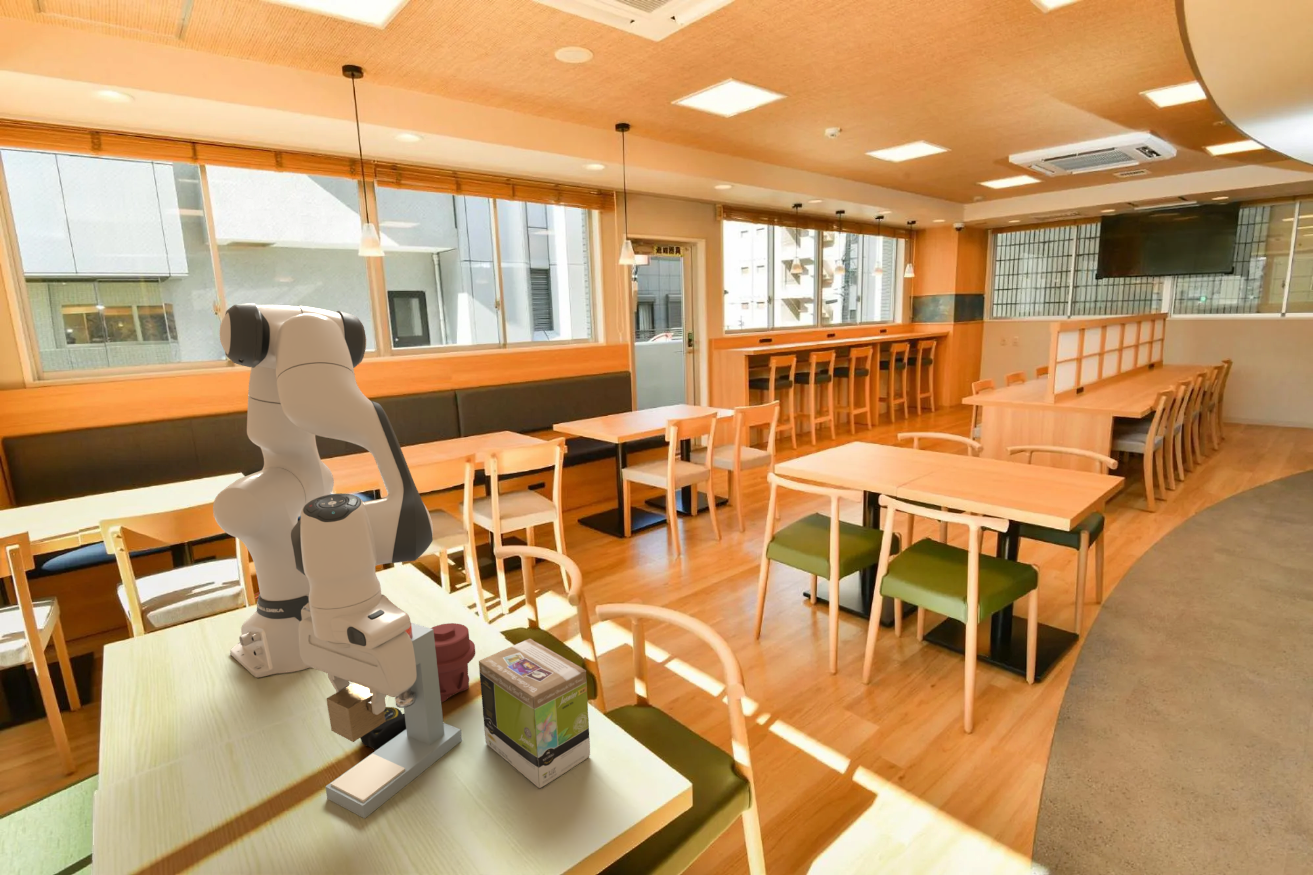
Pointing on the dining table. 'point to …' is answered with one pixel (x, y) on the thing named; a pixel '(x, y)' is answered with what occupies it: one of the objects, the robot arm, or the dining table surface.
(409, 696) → the button
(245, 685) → the dining table surface
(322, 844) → the dining table surface
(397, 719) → the tape measure
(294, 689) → the dining table surface
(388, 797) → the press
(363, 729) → the block
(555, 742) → the tea box
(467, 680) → the mechanical component
